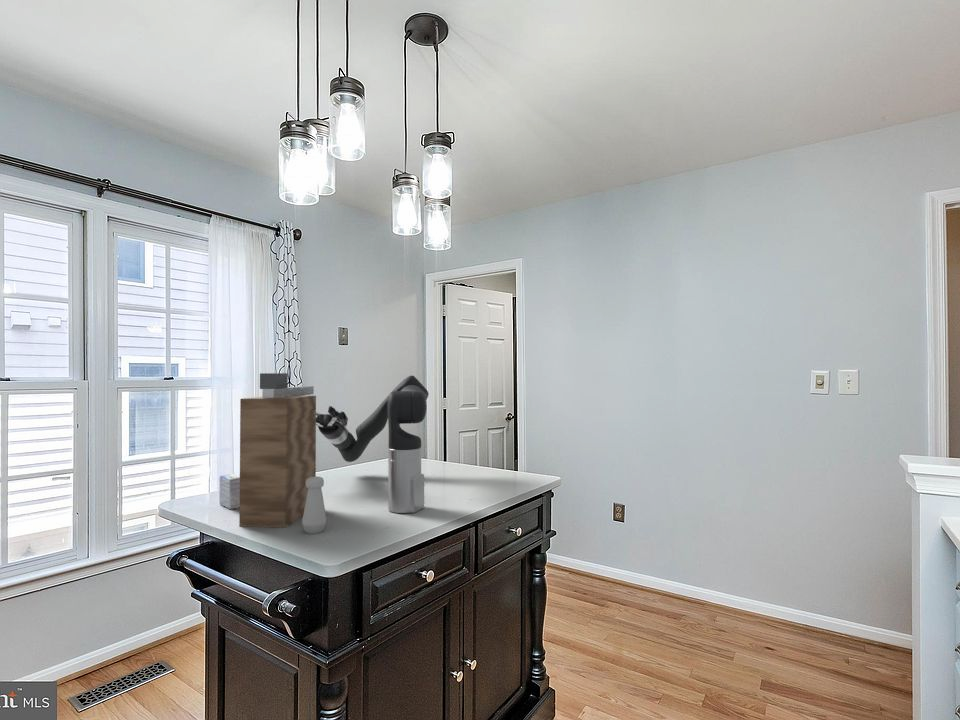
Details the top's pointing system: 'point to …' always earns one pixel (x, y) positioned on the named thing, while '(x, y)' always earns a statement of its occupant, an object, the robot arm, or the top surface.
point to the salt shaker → (314, 507)
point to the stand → (276, 458)
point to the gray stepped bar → (281, 386)
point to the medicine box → (230, 491)
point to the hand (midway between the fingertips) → (316, 408)
